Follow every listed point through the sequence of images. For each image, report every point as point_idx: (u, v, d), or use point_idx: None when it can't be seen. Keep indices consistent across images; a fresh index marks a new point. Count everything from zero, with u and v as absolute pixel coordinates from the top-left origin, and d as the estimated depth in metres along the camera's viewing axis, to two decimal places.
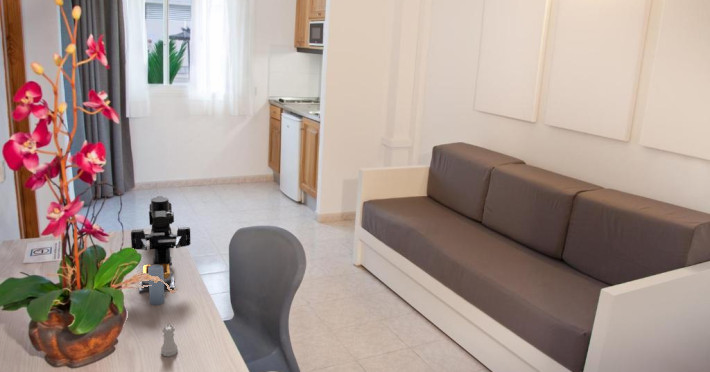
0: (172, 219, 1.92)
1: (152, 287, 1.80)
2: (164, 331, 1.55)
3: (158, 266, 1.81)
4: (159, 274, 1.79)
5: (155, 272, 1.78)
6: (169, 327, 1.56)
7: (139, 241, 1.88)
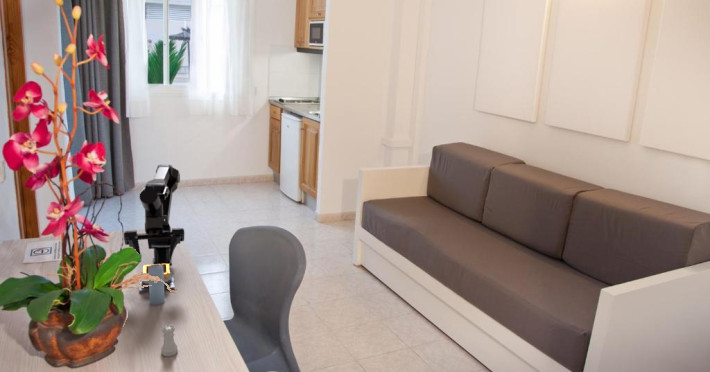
0: (166, 224, 1.86)
1: (152, 287, 1.80)
2: (164, 331, 1.55)
3: (158, 266, 1.81)
4: (159, 274, 1.79)
5: (155, 272, 1.78)
6: (169, 327, 1.56)
7: (132, 243, 1.86)
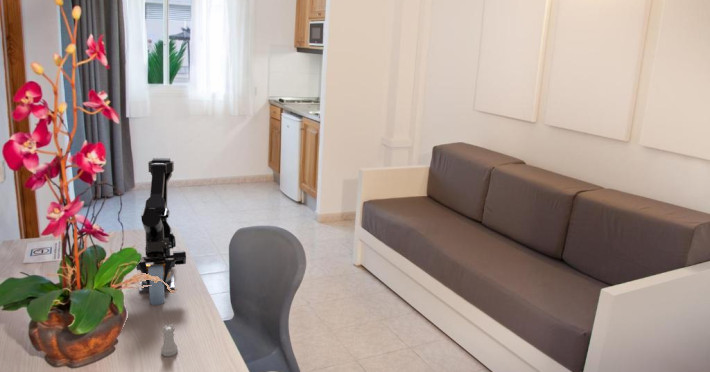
0: (167, 248, 1.81)
1: (152, 287, 1.80)
2: (164, 331, 1.55)
3: (158, 266, 1.81)
4: (159, 274, 1.79)
5: (155, 272, 1.78)
6: (169, 327, 1.56)
7: (140, 266, 1.82)
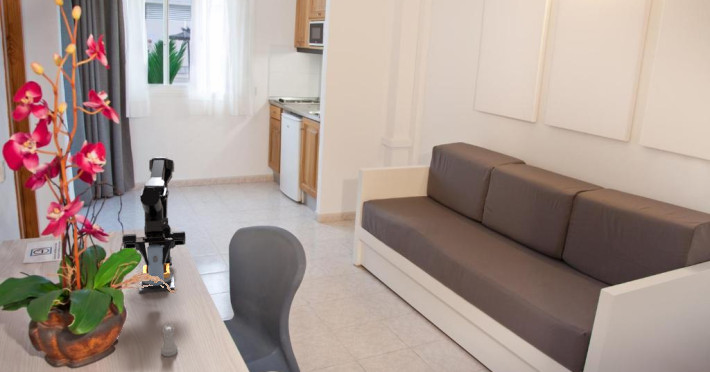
0: (166, 227, 1.79)
1: (151, 267, 1.78)
2: (164, 331, 1.55)
3: (157, 246, 1.79)
4: (158, 253, 1.77)
5: (154, 251, 1.77)
6: (169, 327, 1.56)
7: (139, 246, 1.80)
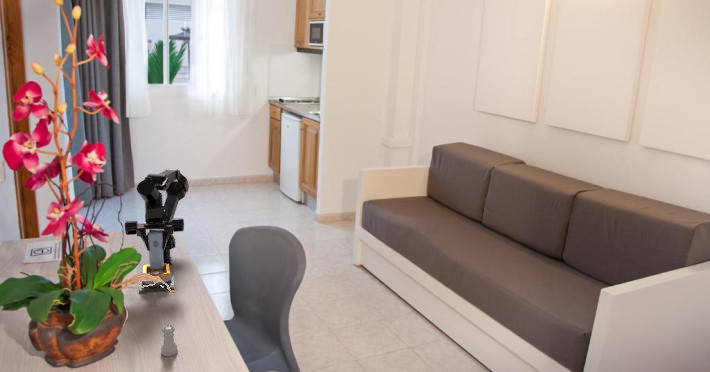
0: (166, 215, 1.90)
1: (152, 252, 1.89)
2: (164, 331, 1.55)
3: (157, 232, 1.90)
4: (158, 239, 1.88)
5: (155, 237, 1.87)
6: (169, 327, 1.56)
7: (140, 233, 1.91)
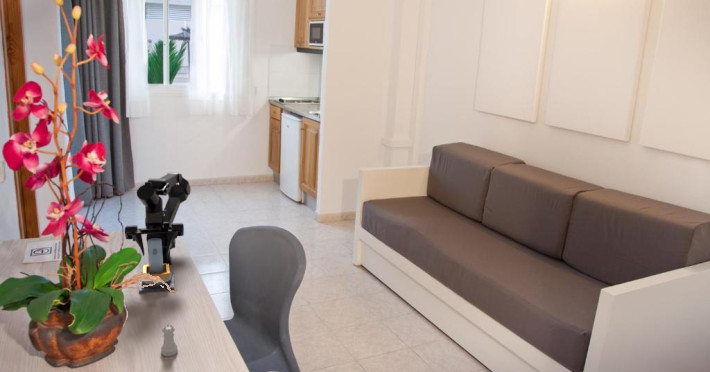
0: (166, 219, 1.91)
1: (151, 259, 1.90)
2: (164, 331, 1.55)
3: (157, 239, 1.91)
4: (158, 247, 1.89)
5: (154, 245, 1.88)
6: (169, 327, 1.56)
7: (136, 237, 1.91)
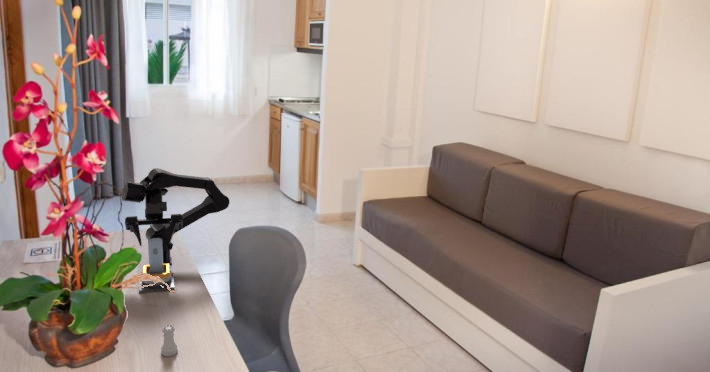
0: (165, 210, 1.95)
1: (152, 259, 1.90)
2: (164, 331, 1.55)
3: (157, 239, 1.91)
4: (158, 246, 1.90)
5: (154, 244, 1.89)
6: (169, 327, 1.56)
7: (133, 228, 1.96)
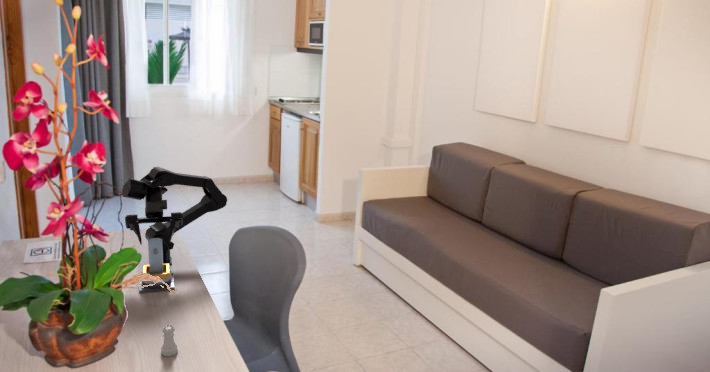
0: None
1: (152, 259, 1.90)
2: (164, 331, 1.55)
3: (157, 239, 1.91)
4: (158, 246, 1.90)
5: (154, 244, 1.89)
6: (169, 327, 1.56)
7: (133, 227, 1.95)
